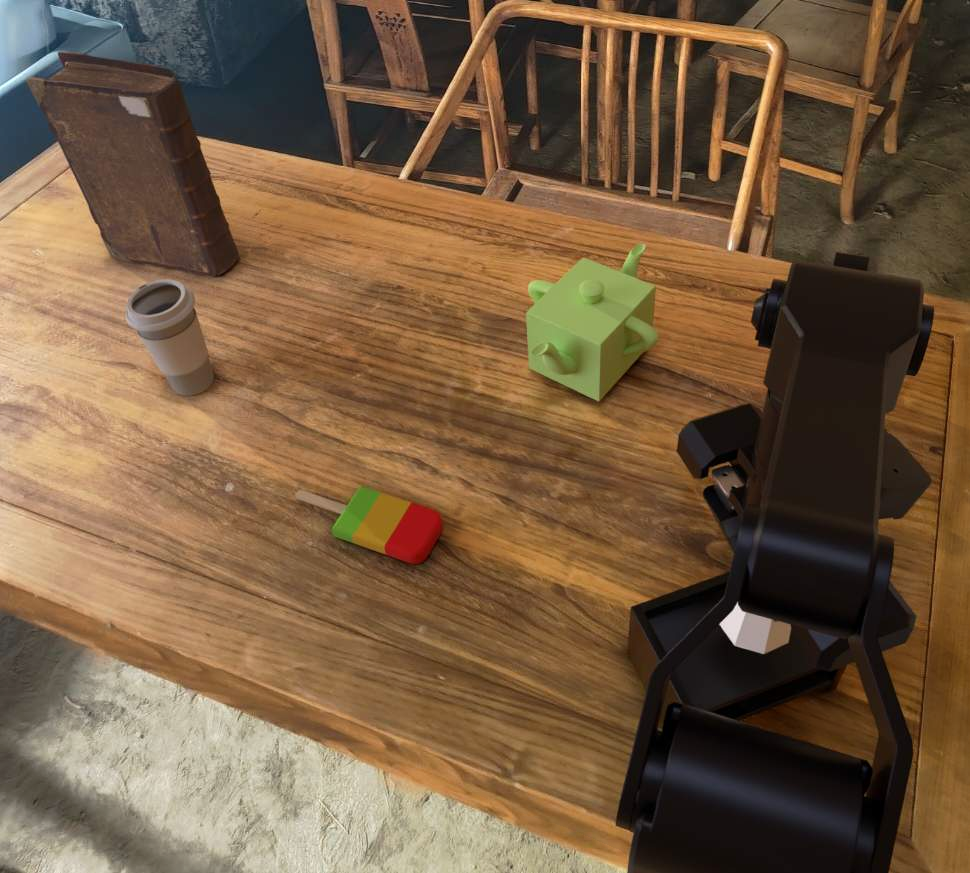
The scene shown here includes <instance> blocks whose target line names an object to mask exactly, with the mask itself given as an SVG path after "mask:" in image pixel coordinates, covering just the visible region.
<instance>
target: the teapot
mask: <svg viewBox="0 0 970 873" xmlns="http://www.w3.org/2000/svg"><path fill="white" fill-rule="evenodd" d="M645 250H646V244H645V243H638V244H636V245H635V246H634V247H632V249H631V250H630V251H629V253H628V255H627V256H626V258H625V261H624V263H623V265H622V267H621V269H620V270H617V269H614V268H611V267H609V266H607V265H604V264H601V263H599V262H596V261H594V260H591V259H588V258H587V257H582V258H581V259H580V260H578V261H577V262H576V263H575V264H574V265H573V266H572V267H571V268H570V269H569V270H567V272H566V273H565V274H564V275H563V276H561V277H560V279H558V281H557V282H556V283H554V282H551V281H548V280H545V279H544V280H543V279H535V280H532V281H531V282H530V283H528V286H527V291H528V294H529V296H530V298H531V300H532V301H533V303H534V304H533V305H532V306H531V307H530V308H528V310H527V311H526V312H525V318H526V320H525V321H526V337H527V340H526V341H527V358H528V369H529V370H532V371H534V372H536V373H538V374H540V375H542V376H544V377H546V378H549V379H550V380H552V381H555V382H557V383H558V384H561V385H563V386H565V387H567V388H569V389H572V390H573V391H575V392H578V393H580V394H582V395H584V396H586V397H588V398H589V399H593V400H595V401H597V402H600V401H601V400H602V399H603V398H604V397H605V396H606V394H608V392H609V391H610V390H611V389H612V388H613V387H614V386H615V385H616V384H617V382H618V381H619V380H620V379H621V378H622V376H624V374H625V373H626V372H627V371H628V370H629V369H630V367H631V366H632V365H633V364H635V362H636V361H637V360H638V359H639V358H640V356H642V354H643V353H644V352H648V351H649V350H651V349H653V348H654V347H655V346H656V345H657V344H658V342H659V339H660V337H659V336H660V335H659V332H658V331H657V330H656V329H655V328H654V314H655V303H656V293H657V286H656V285H654V284H651V283H649V282H647V281H643V280H641V279H639V278H638V270H639V264H640V262H641V258H642V256H643V255H644V252H645Z"/></svg>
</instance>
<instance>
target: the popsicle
mask: <svg viewBox="0 0 970 873" xmlns="http://www.w3.org/2000/svg"><path fill="white" fill-rule="evenodd" d="M294 498H295V499H296V500H299V501H301V502H304V503H307V504H309V505H312V506H316V507H319V508H322V509H323V510H324V509H325V510H327V511H330V512H333V513H336V514H338V515H339V517H338V518H337V520H336V521H335V523H334V524H333V526H332V527H331V533H332V535H333V537H335V538H338V539H341V540H344V541H347V542H349V543H352V544H353V545H354V544H355V545H357V546H360V547H364V548H366V549H367V550H368V549H369V550H372V551H375V552H377V553H380V554H382V555H385V556H389V557H390V558H393V559H397V560H400V561H403V562H404V563H405V562H406V563H408V564H415V565H416V564H417V565H418V564H421V563H423V562H424V561H425V560H426V559H427V557H428V556H429V555H430V554H431V552H432V550H433V548H434V546H435V544H436V543H437V541H438V540H439V537H440V536H441V534H442V531H443V529H444V522H443V518H442V515H441V514H440V513H439V512H438V511H437V510H435V509H433V508H430V507H427V506H425V505H421V504H418V503H415V502H412V501H410V500H405V499H404V498H399V497H397V496H394V495H390V494H387V493H386V492H385V493H384V492H381V491H379V490H375V489H373V488H371V487H370V488H369V487H366V486H363V485H361V486H359V487H358V488H357V490H356V491H355V493H354V494H353V496H352V497H351V499H350V501H349V502H348V504H344V503H341V502H339V501H336V500H332V499H329V498H326V497H323V496H321V495H317V494H316V493H315V494H314V493H311V492H309V491H306V490H301V489H299V490H297V491H296V492H295V494H294Z"/></svg>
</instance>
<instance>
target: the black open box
mask: <svg viewBox="0 0 970 873" xmlns="http://www.w3.org/2000/svg"><path fill="white" fill-rule="evenodd" d="M729 573H730V570H729V571H726V572H724V573H721V574H719V575H715V576H712V577H710V578H707V579H704V580H701V581H699V582H695V583H693V584H690V585H687V586H685V587H682V588H679V589H677V590H674V591H671V592H668V593H665V594H662V595H660V596H657V597H654V598H652V599H651V598H650V599H648V600H645V601H642V602H640V603H637V604H635V605H632V606H630V611H629V624H628V634H627V647H626V655H627V657H628V658H629V661H630V663H631V664H632V667H633V668H634V671H635V672H636V674H637V677H638V678H639V680H640V683H641V685H642V686H643V688H644V690H645V693H646V692H647V688H648V684H649V680H650V676H651V674H652V672H653V670H654V668H655V667H656V665H657V664H658V663H659V662H660V661H661V660H662V659H663V658H664V657H665V656H666V655H667V654H668V653H669V652H670V651H671V650H672V649H673V648H674V647H675V646H676V645H677V644H678V643H679V642H680V641H681V640H682V639H683V638H684V637H685V636H686V635H687V634H688V633H689V632H690V631H691V630H692V629H693V628H694V627H695V626H696V625H697V624H698V623H699V622H700V621H701V620H702V619H703V618H704V617H705V616H706V615H707V614H708V613H709V611H710V610H711V609H712V608H713V607H714V606H715V605H716V604H717V603H718V602H719V601H720V600H721V599H722V598H723V596H724V594H725V590H726V585H727V581H728V577H729ZM847 667H848V665H846V666H843V667H841V668H838V669H835V670H833V671H830V672H829V671H826V670H823V669H820V668H818V667H815V665H814V664H813V662H812V661H811V659H810V657H809V656H808V654H807V653H806V651H805V650H804V648H803V647H802V645H801V644H800V642H799V640H798V639H797V637H796V636H795V634H794V633H793V631H792V629H791V632H790V637H789V642H788V643H787V644H785V645H782V646H780V647H778V648H776V649H774V650H772V651H770V652H768V653H765V654H762V653H758V652H755V651H751V650H748V649H744V648H741V647H737V646H734V644H733V643H732V641H731V640H730V639H729V637H728V636H727V634H726V633H725V632H724V630H723V629H722V627H721V626H720V625H718V626H717V627H716V628H715V629H714V630H713V631H712V632H711V633H710V634H709V635H708V636H707V637H706V638H705V639H704V640H703V641H702V642H701V643H700V644H699V645H698V646H697V647H696V648H695V649H694V650H693V651H692V652H691V653H690V654H689V655H688V656H687V657H686V658H685V659H684V660H683V661H682V662H681V663H680V664H679V665H678V666H677V667H676V668H675V669H674V670H673V672H672V673H671V676H670V681H669V685H668V689H667V693H666V697H665V701H664V705H663V709H662V713H661V717H660V722H661V724H662V725H663V723H664V718H665V714H666V710H667V706H668V705H669V704H671V703H673V702H678V703H682V704H685V705H688V706H691V707H695V708H698V709H701V710H705V711H708V712H711V713H714V714H718V715H721V716H724V717H727V718H731V719H734V720H737V721H740V722H742V721H743V720H746V719H749V718H751V717H755V716H757V715H759V714H762V713H765V712H767V711H770V710H772V709H774V708H778V707H780V706H782V705H785V704H788V703H790V702H793V701H795V700H797V699H798V700H799V699H800V698H803V697H805V696H808V695H811V694H813V693H816V692H818V691H822V690H825V691H826V693H831V692H834V691H836V690H837V688H838V686H839V684H840V682H841V680H842V677H843V675H844V673H845V671H846V669H847Z"/></svg>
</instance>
